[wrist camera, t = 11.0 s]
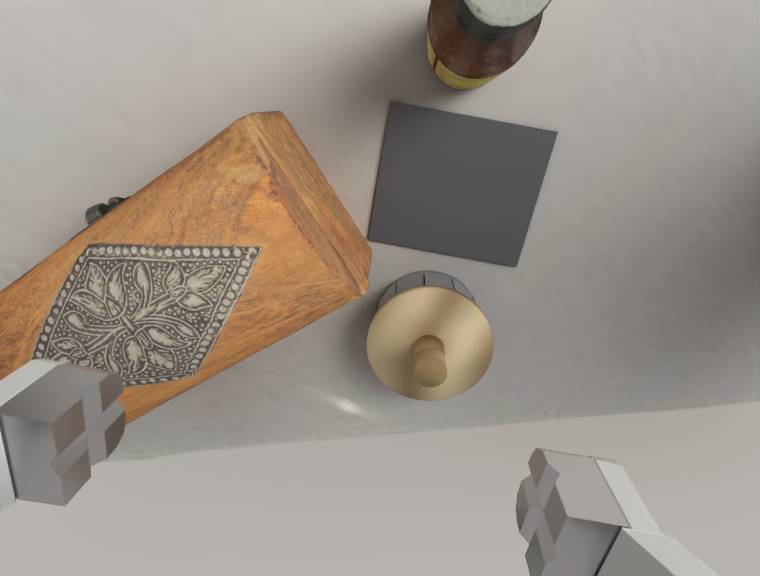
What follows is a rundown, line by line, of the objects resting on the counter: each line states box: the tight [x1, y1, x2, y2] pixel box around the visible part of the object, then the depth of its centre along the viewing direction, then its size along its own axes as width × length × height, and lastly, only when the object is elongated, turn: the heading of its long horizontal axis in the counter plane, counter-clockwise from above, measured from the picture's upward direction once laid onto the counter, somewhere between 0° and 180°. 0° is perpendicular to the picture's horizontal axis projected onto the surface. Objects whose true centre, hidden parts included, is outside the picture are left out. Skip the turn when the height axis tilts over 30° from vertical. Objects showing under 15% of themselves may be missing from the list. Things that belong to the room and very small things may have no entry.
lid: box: [366, 285, 493, 401], centre depth 37 cm, size 11×11×5 cm
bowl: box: [377, 271, 475, 310], centre depth 42 cm, size 10×10×5 cm
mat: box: [368, 102, 558, 267], centre depth 39 cm, size 14×12×1 cm
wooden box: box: [0, 111, 372, 425], centre depth 38 cm, size 30×16×14 cm, turn 121°
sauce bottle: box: [427, 0, 551, 89], centre depth 26 cm, size 7×6×20 cm
